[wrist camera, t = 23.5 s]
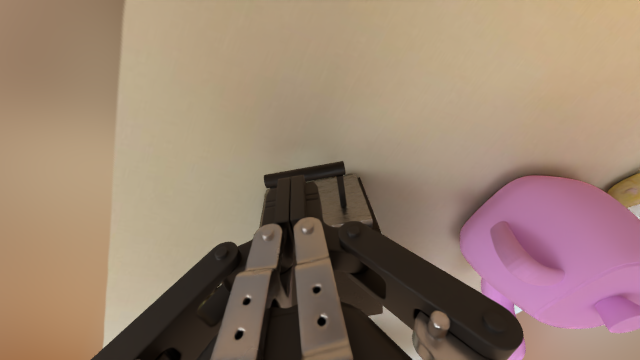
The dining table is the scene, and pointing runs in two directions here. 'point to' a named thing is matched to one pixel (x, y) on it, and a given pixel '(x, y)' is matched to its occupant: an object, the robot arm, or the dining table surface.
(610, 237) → the teapot
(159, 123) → the dining table surface
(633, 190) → the fruit
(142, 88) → the dining table surface
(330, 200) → the cabinet drawer
